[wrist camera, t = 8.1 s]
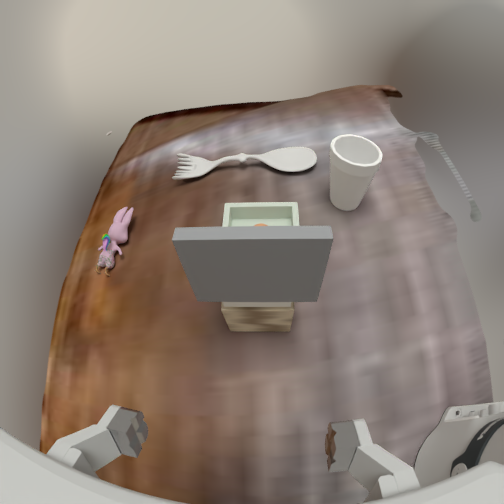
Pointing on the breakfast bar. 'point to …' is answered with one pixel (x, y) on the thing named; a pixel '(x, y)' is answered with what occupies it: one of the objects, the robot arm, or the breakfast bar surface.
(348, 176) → the foam cup
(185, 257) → the lever flap
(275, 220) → the tray
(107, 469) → the breakfast bar surface
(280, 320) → the stand
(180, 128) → the breakfast bar surface
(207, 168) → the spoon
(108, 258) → the rabbit figure
